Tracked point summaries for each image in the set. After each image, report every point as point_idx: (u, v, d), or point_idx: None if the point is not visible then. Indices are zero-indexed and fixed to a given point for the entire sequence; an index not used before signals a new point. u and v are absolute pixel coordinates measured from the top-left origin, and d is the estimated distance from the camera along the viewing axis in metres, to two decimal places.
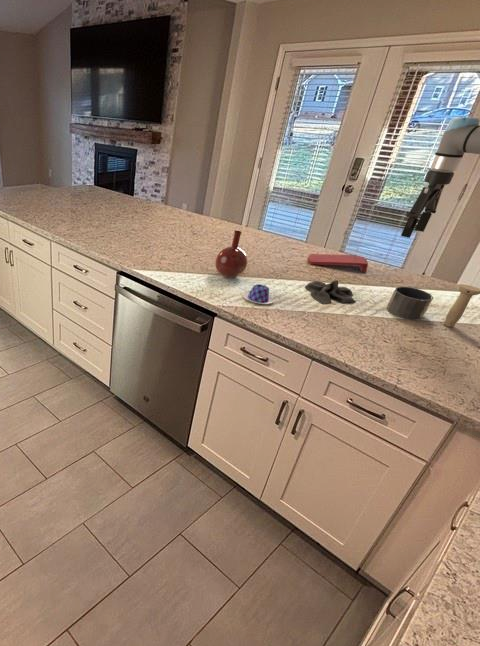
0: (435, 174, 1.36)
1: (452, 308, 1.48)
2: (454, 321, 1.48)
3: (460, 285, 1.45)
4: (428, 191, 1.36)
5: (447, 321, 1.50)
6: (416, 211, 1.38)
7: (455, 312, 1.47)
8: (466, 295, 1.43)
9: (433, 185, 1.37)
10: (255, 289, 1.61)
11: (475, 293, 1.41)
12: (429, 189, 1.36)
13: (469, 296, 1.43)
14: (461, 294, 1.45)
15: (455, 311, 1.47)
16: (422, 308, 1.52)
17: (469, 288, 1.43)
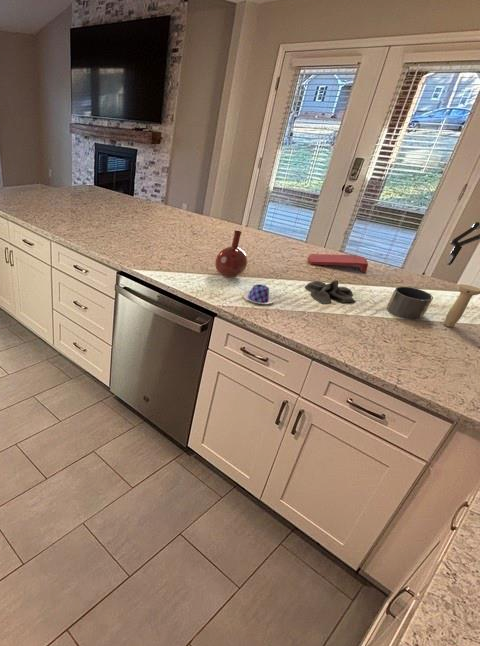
0: None
1: (452, 308, 1.48)
2: (454, 321, 1.48)
3: (460, 285, 1.45)
4: (474, 224, 1.49)
5: (447, 321, 1.50)
6: (455, 238, 1.51)
7: (455, 312, 1.47)
8: (466, 295, 1.43)
9: None
10: (255, 289, 1.61)
11: (475, 293, 1.41)
12: (475, 223, 1.49)
13: (469, 296, 1.43)
14: (461, 294, 1.45)
15: (455, 311, 1.47)
16: (422, 308, 1.52)
17: (469, 288, 1.43)
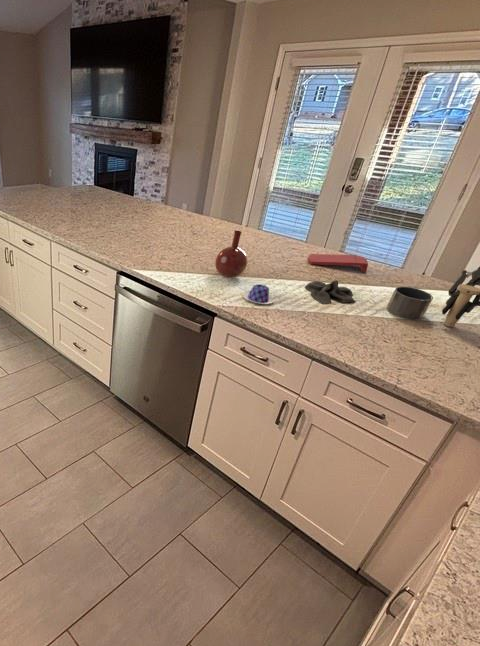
0: None
1: (452, 308, 1.48)
2: (454, 321, 1.48)
3: (460, 285, 1.45)
4: None
5: (447, 321, 1.50)
6: None
7: (455, 312, 1.47)
8: (466, 295, 1.43)
9: None
10: (255, 289, 1.61)
11: (475, 293, 1.41)
12: None
13: (469, 296, 1.43)
14: (461, 294, 1.45)
15: (455, 311, 1.47)
16: (422, 308, 1.52)
17: (469, 288, 1.43)
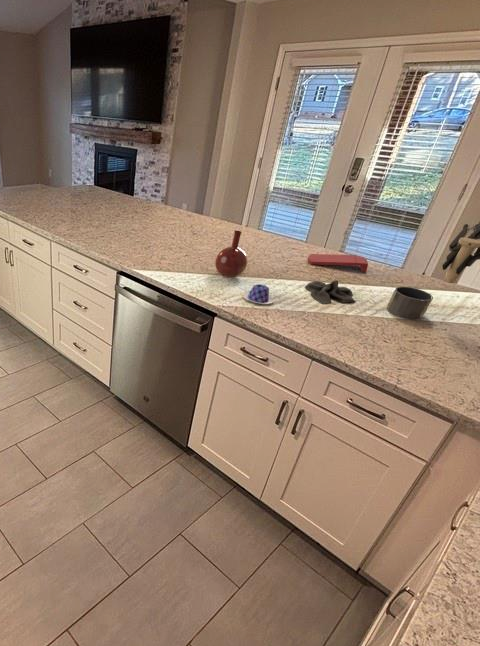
0: None
1: (453, 263, 1.43)
2: (455, 277, 1.44)
3: (461, 238, 1.40)
4: (463, 227, 1.45)
5: (447, 277, 1.46)
6: None
7: (456, 267, 1.42)
8: (467, 248, 1.39)
9: (478, 222, 1.43)
10: (255, 289, 1.61)
11: (477, 245, 1.37)
12: None
13: (471, 249, 1.38)
14: (462, 247, 1.40)
15: (456, 265, 1.42)
16: (422, 308, 1.52)
17: (471, 241, 1.38)
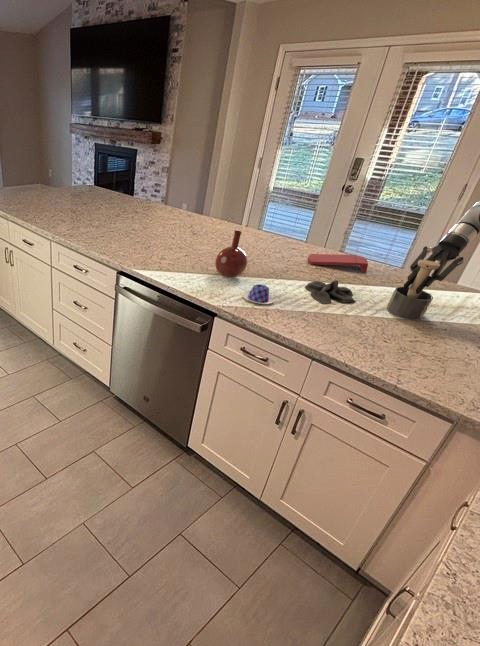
0: None
1: (413, 283, 1.53)
2: (415, 296, 1.54)
3: (420, 260, 1.50)
4: None
5: (408, 296, 1.55)
6: None
7: (416, 287, 1.52)
8: (426, 270, 1.48)
9: None
10: (255, 289, 1.61)
11: (434, 267, 1.46)
12: None
13: (428, 271, 1.48)
14: (421, 269, 1.50)
15: (416, 285, 1.52)
16: (422, 308, 1.52)
17: (428, 263, 1.48)
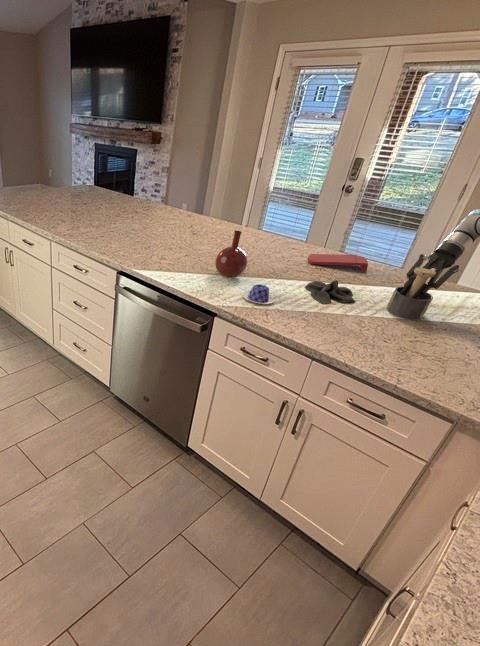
0: None
1: (409, 290, 1.54)
2: None
3: (416, 268, 1.51)
4: None
5: None
6: None
7: (412, 294, 1.54)
8: (422, 277, 1.50)
9: None
10: (255, 289, 1.61)
11: (430, 275, 1.48)
12: None
13: (424, 278, 1.50)
14: (417, 277, 1.51)
15: (412, 293, 1.54)
16: (422, 308, 1.52)
17: (424, 271, 1.49)
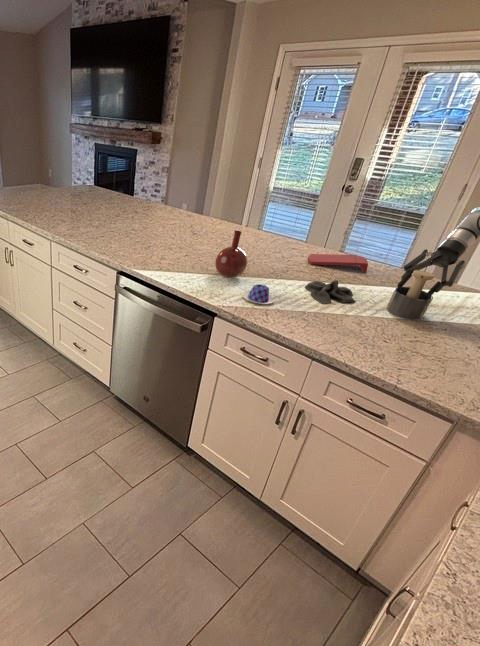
0: None
1: (408, 293, 1.55)
2: None
3: (415, 271, 1.52)
4: None
5: None
6: None
7: (411, 297, 1.54)
8: (420, 280, 1.51)
9: (436, 250, 1.54)
10: (255, 289, 1.61)
11: (428, 278, 1.49)
12: None
13: (423, 281, 1.50)
14: (416, 279, 1.52)
15: (411, 295, 1.54)
16: (422, 308, 1.52)
17: (423, 273, 1.50)
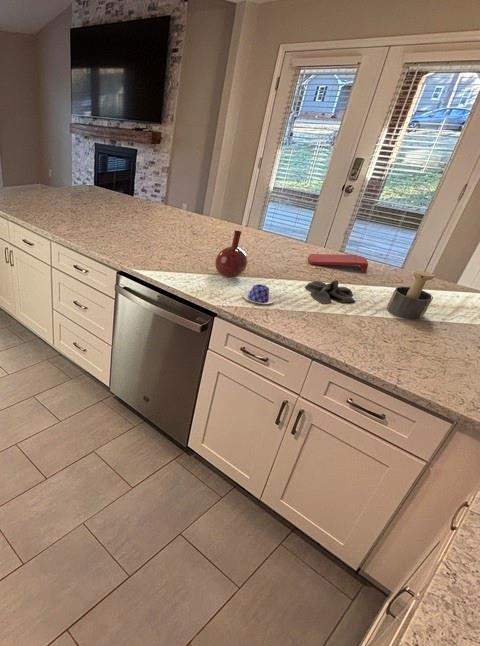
0: None
1: (408, 293, 1.55)
2: None
3: (415, 271, 1.52)
4: None
5: None
6: None
7: (411, 297, 1.54)
8: (420, 280, 1.51)
9: None
10: (255, 289, 1.61)
11: (428, 278, 1.49)
12: None
13: (423, 281, 1.50)
14: (416, 279, 1.52)
15: (411, 295, 1.54)
16: (422, 308, 1.52)
17: (423, 273, 1.50)
